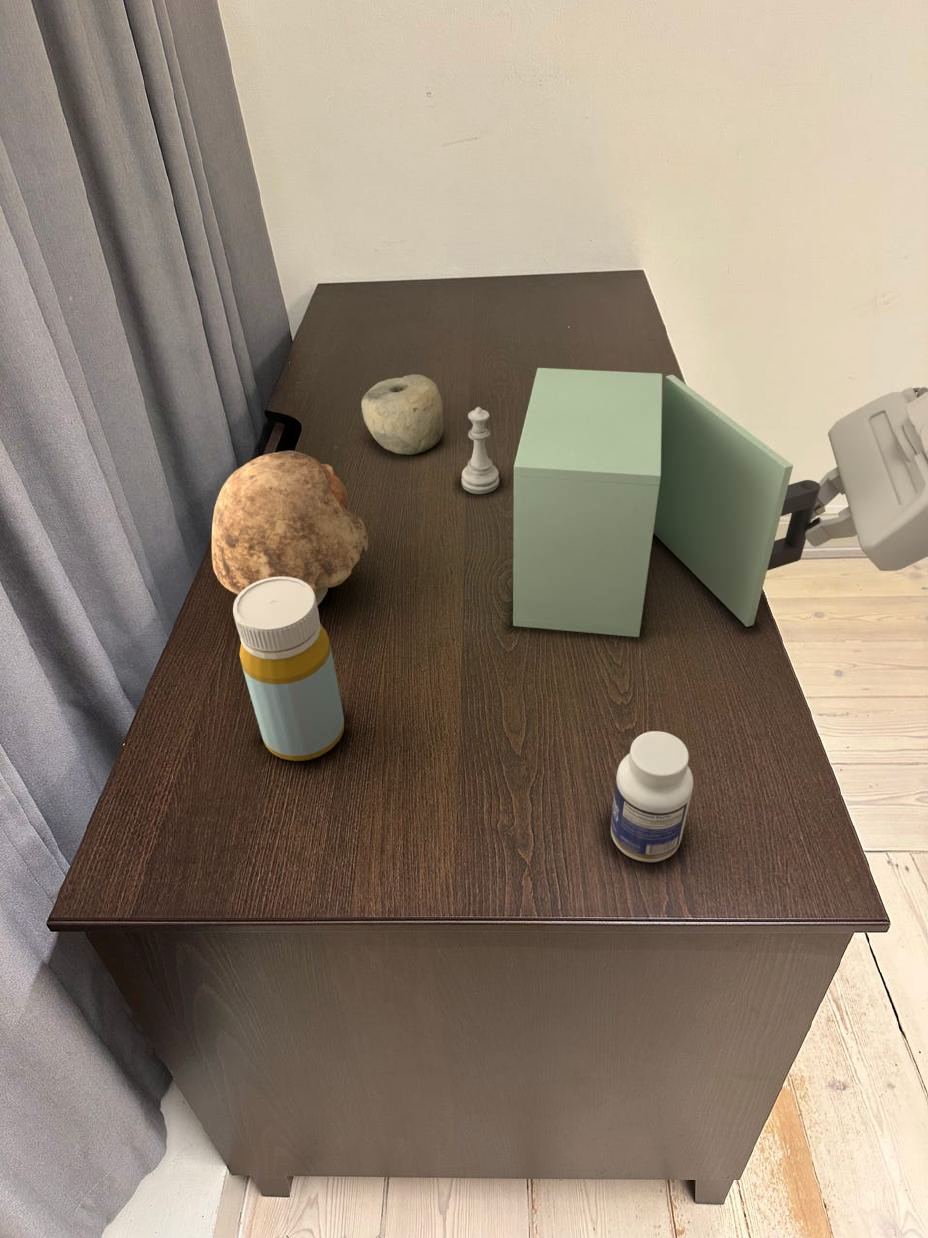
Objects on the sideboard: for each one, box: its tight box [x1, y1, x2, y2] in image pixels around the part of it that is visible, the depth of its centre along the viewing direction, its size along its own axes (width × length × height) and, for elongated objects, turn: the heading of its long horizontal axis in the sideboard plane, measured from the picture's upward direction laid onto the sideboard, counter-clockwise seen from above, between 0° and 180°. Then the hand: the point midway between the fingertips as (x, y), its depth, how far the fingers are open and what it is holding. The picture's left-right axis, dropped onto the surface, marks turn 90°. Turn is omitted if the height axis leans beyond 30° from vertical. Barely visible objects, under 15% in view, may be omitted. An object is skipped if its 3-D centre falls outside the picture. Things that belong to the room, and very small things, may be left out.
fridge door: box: [653, 374, 820, 628], centre depth 85 cm, size 7×18×18 cm, turn 23°
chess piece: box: [461, 406, 500, 495], centre depth 101 cm, size 4×4×10 cm
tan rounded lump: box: [211, 450, 369, 607], centre depth 85 cm, size 15×16×15 cm
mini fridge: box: [512, 367, 663, 638], centre depth 85 cm, size 12×18×18 cm, turn 170°
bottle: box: [232, 577, 345, 762], centre depth 71 cm, size 7×7×15 cm
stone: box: [360, 373, 444, 456], centre depth 110 cm, size 10×10×10 cm
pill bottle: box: [610, 730, 694, 863], centre depth 64 cm, size 5×5×10 cm
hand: (805, 524), depth 82 cm, fingers open, 3 cm apart
